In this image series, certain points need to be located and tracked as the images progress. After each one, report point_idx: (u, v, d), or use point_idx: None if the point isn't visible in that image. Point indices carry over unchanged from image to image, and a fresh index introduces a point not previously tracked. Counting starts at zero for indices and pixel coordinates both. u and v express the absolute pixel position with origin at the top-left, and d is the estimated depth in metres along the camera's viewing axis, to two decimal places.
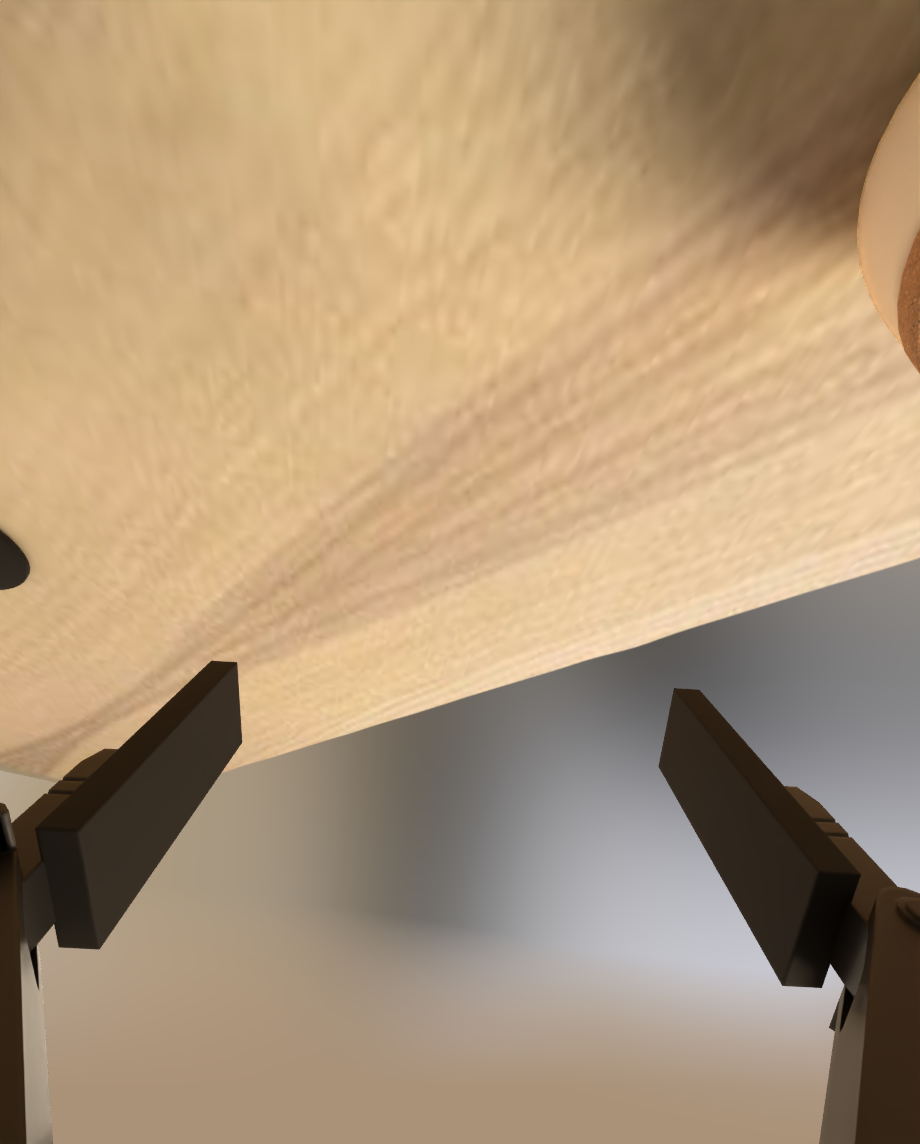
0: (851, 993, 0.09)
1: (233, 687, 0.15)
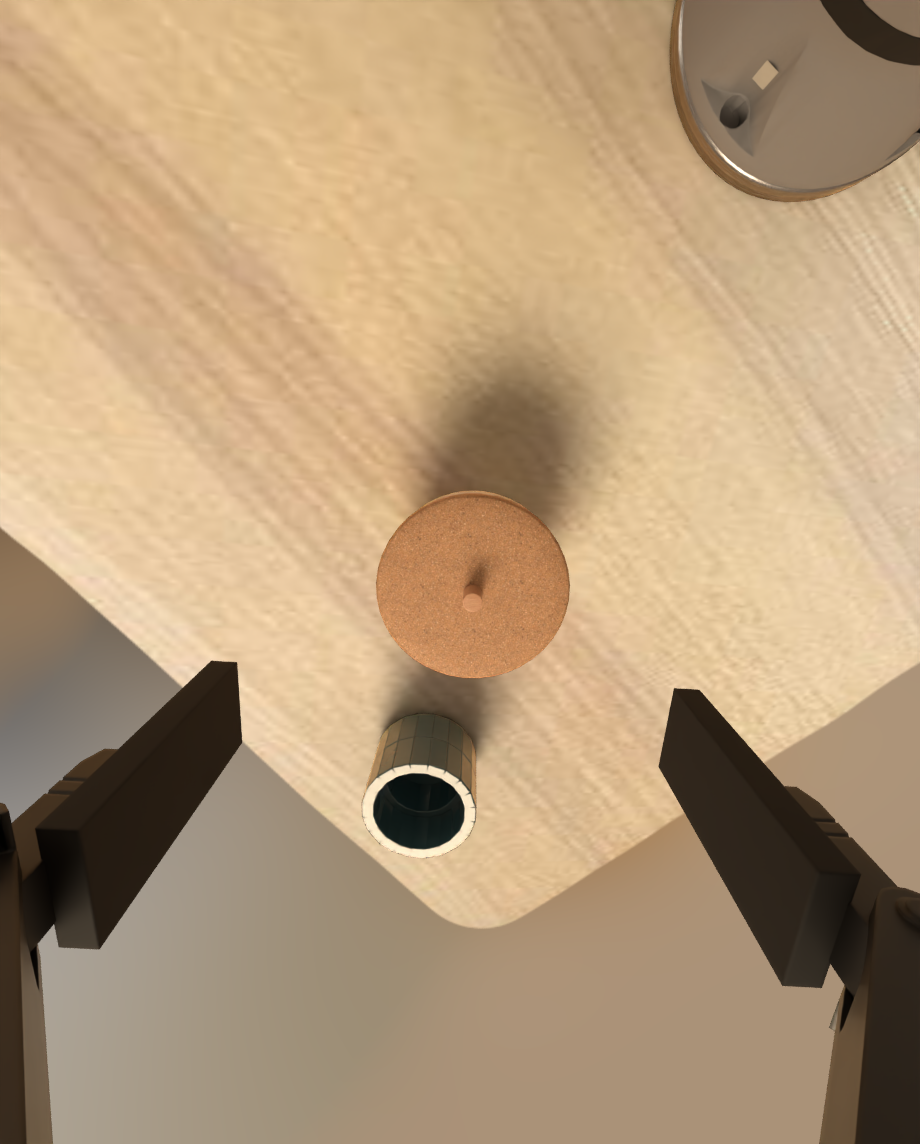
0: (851, 993, 0.09)
1: (233, 687, 0.15)
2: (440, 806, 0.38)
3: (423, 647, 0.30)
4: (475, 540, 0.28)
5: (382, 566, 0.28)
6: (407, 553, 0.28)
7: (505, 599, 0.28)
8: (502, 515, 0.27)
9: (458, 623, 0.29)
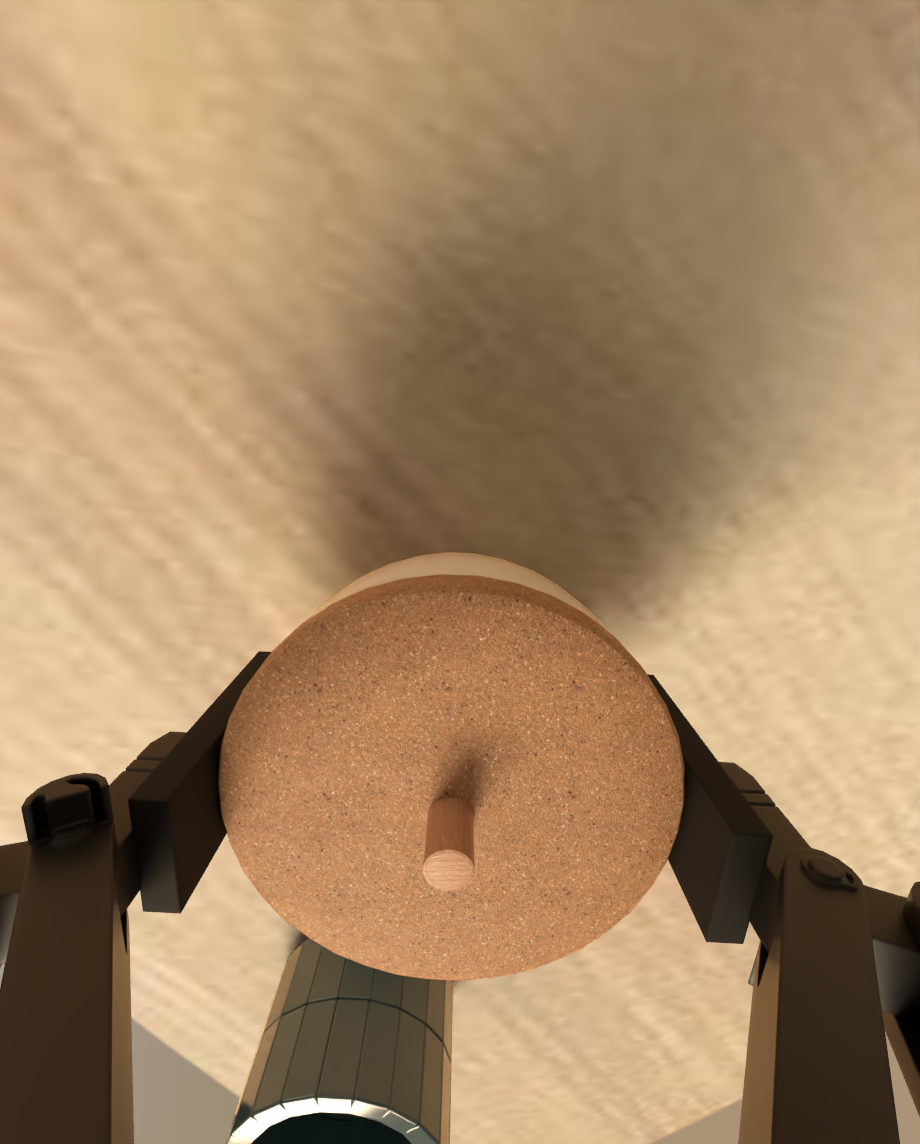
0: (766, 949, 0.10)
1: None
2: None
3: (332, 923, 0.13)
4: (461, 698, 0.11)
5: (228, 748, 0.11)
6: (290, 723, 0.11)
7: (530, 831, 0.12)
8: (532, 639, 0.11)
9: (414, 877, 0.12)
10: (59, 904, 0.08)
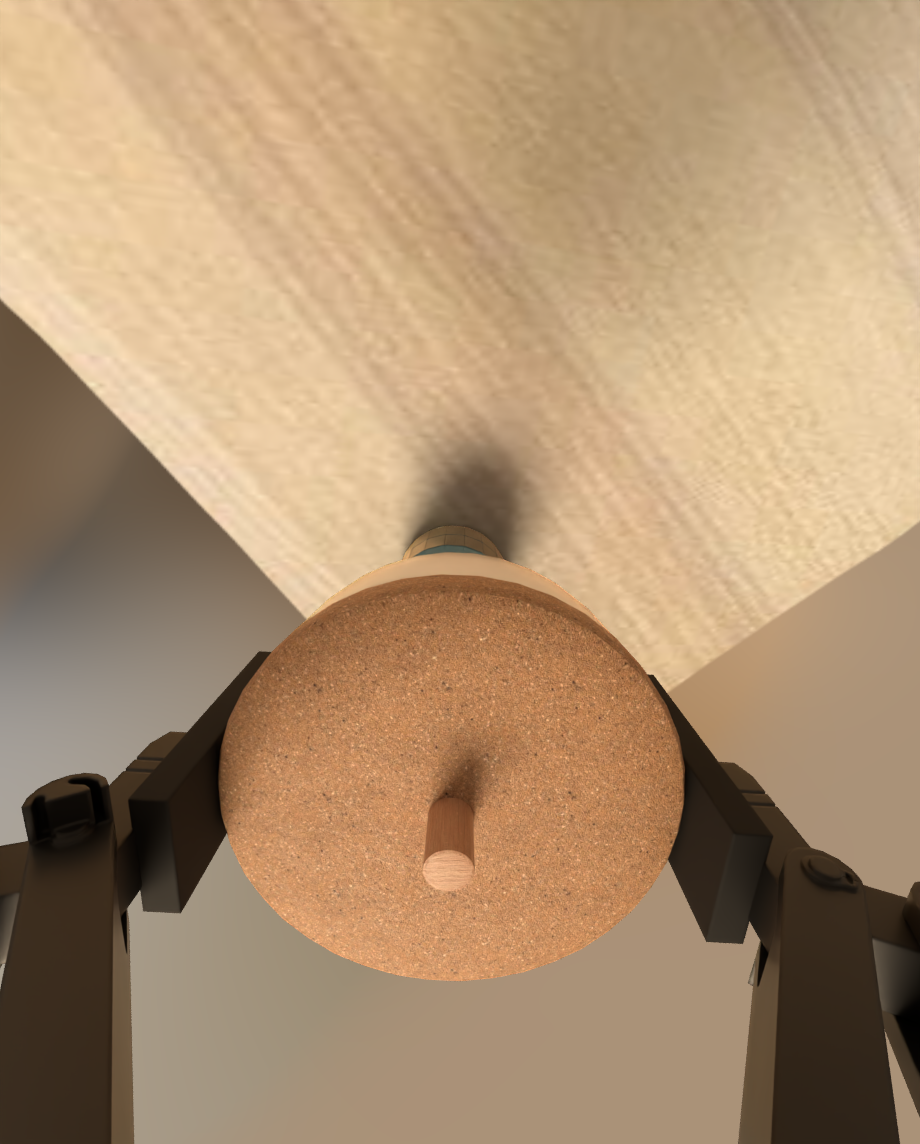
0: (766, 949, 0.10)
1: None
2: None
3: (332, 923, 0.13)
4: (461, 698, 0.11)
5: (228, 748, 0.11)
6: (289, 723, 0.11)
7: (530, 831, 0.12)
8: (532, 639, 0.11)
9: (414, 878, 0.12)
10: (59, 904, 0.08)
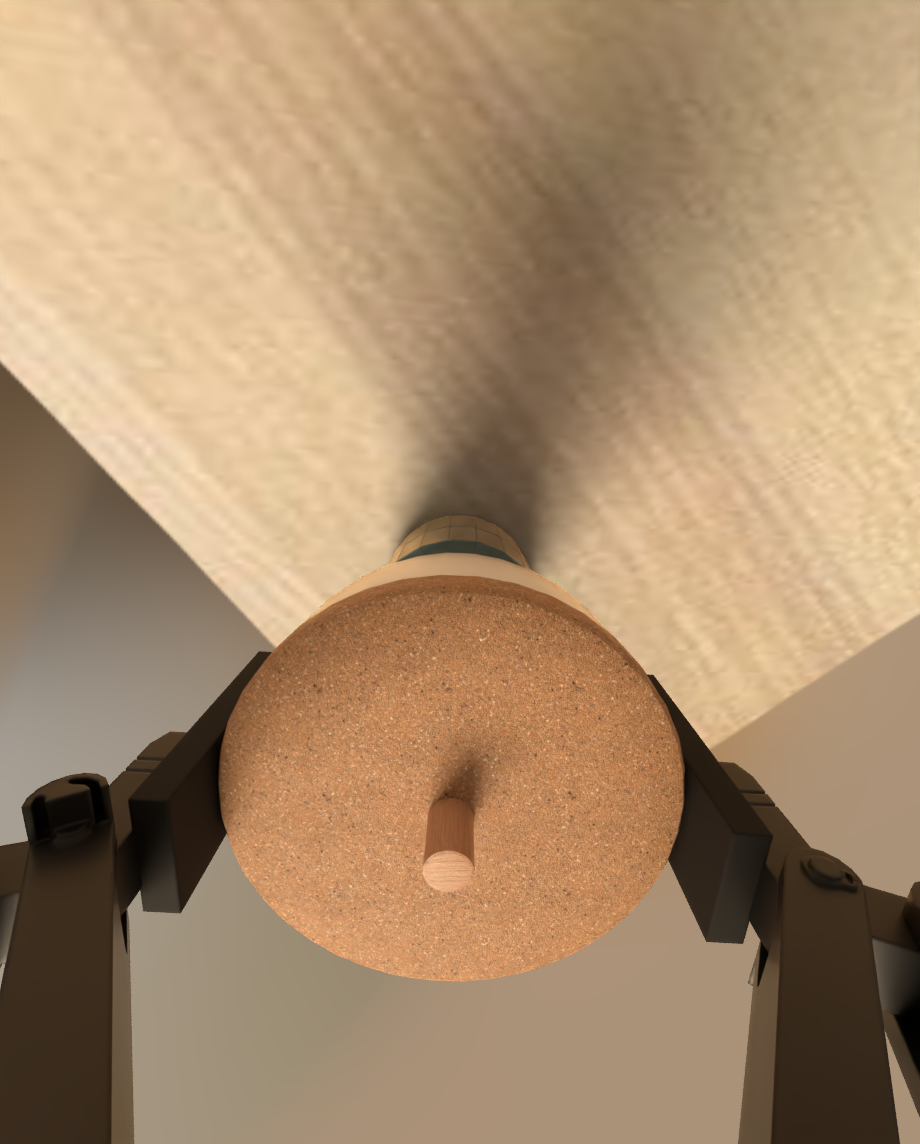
0: (766, 949, 0.10)
1: None
2: None
3: (332, 924, 0.13)
4: (461, 698, 0.11)
5: (228, 749, 0.11)
6: (289, 723, 0.11)
7: (530, 831, 0.12)
8: (532, 640, 0.11)
9: (414, 878, 0.12)
10: (59, 904, 0.08)
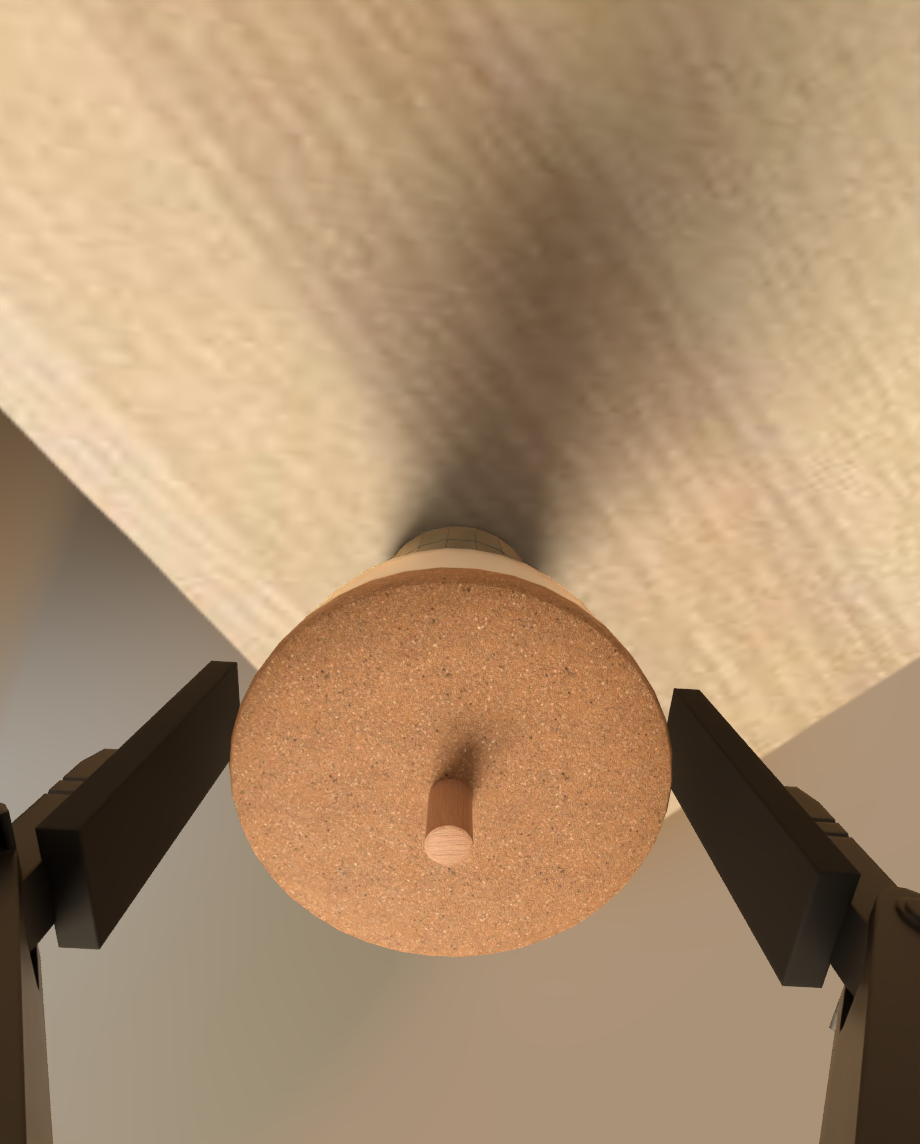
0: (851, 993, 0.09)
1: (233, 687, 0.15)
2: None
3: (338, 901, 0.13)
4: (460, 683, 0.11)
5: (240, 732, 0.12)
6: (298, 708, 0.12)
7: (525, 811, 0.12)
8: (527, 628, 0.11)
9: (416, 856, 0.13)
10: None
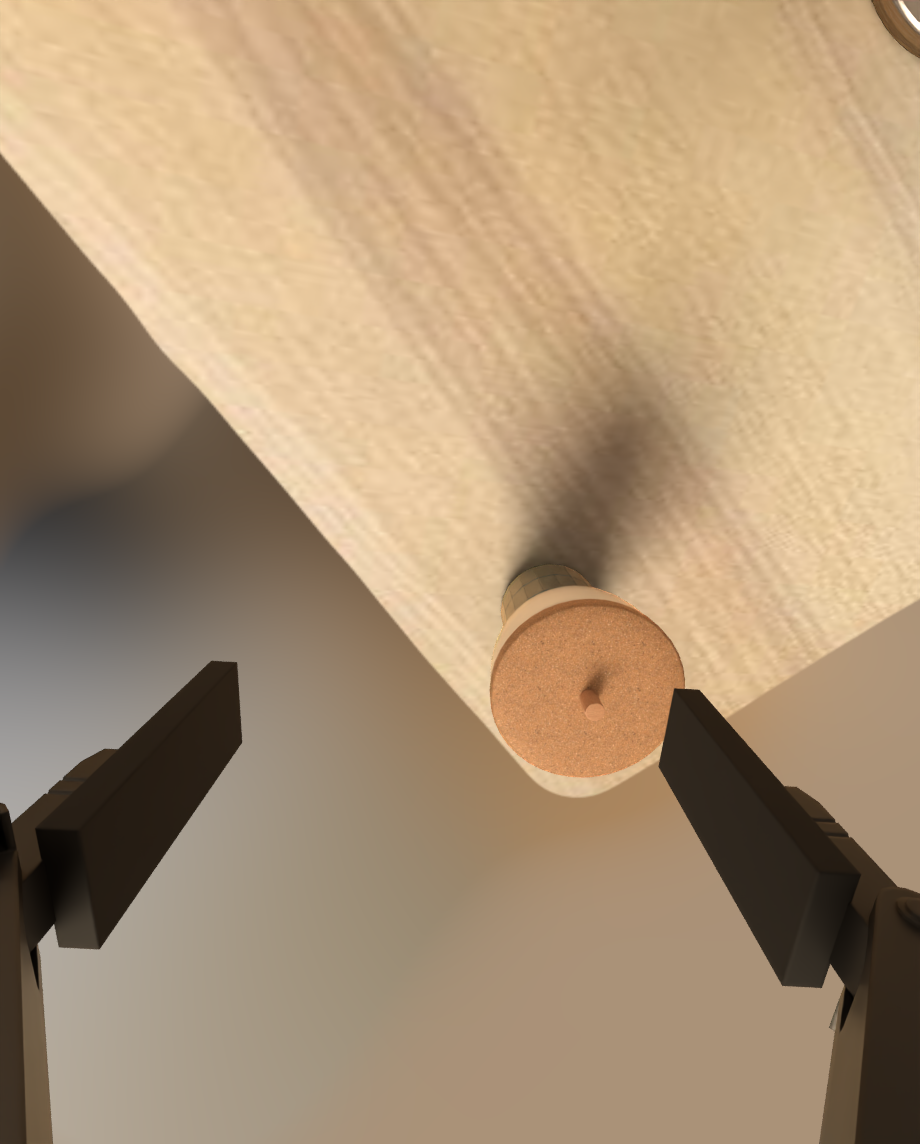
0: (851, 993, 0.09)
1: (233, 687, 0.15)
2: None
3: (531, 746, 0.29)
4: (598, 647, 0.28)
5: (500, 667, 0.28)
6: (529, 656, 0.28)
7: (620, 705, 0.28)
8: (628, 625, 0.27)
9: (570, 725, 0.29)
10: None
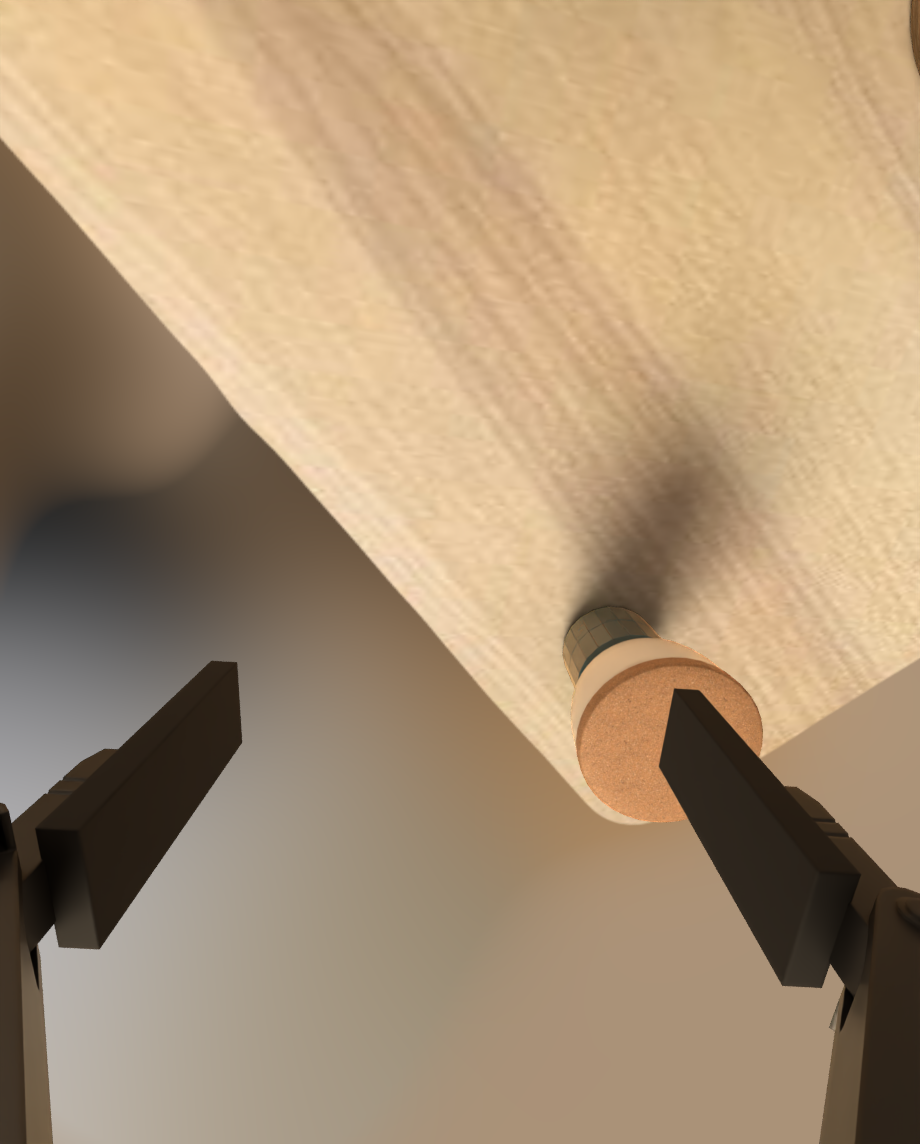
0: (851, 993, 0.09)
1: (233, 687, 0.15)
2: None
3: (617, 795, 0.31)
4: None
5: (589, 723, 0.30)
6: (616, 713, 0.30)
7: None
8: (710, 683, 0.29)
9: (654, 775, 0.31)
10: None
